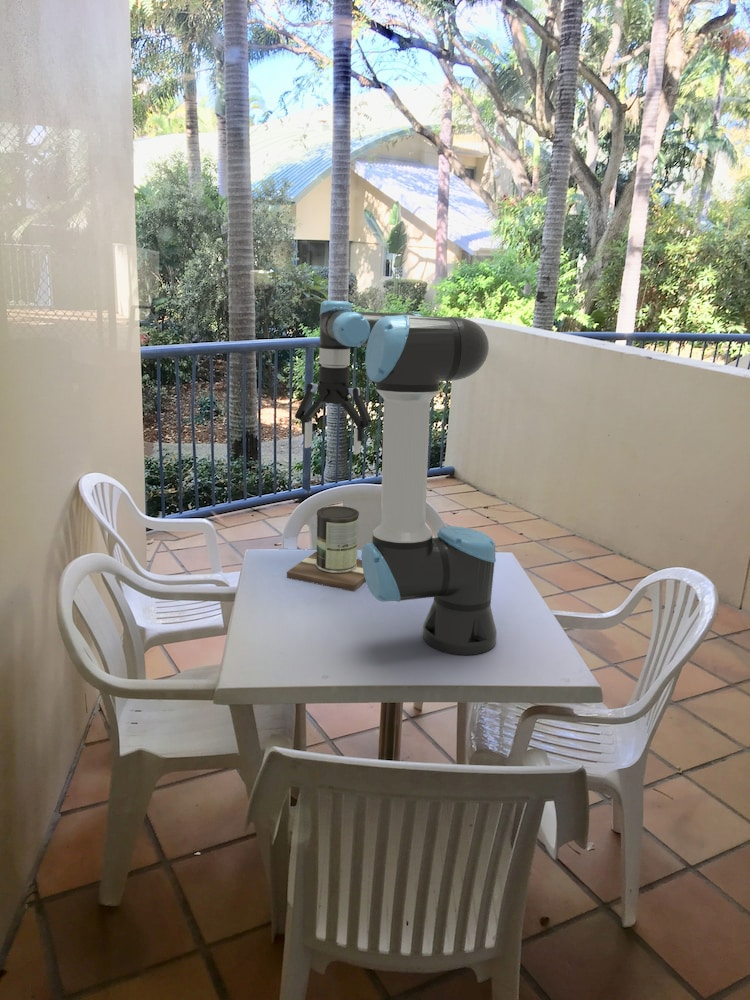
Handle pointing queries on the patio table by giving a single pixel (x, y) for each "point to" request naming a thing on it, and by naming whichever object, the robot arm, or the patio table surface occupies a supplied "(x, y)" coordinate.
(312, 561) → the strip
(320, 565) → the coffee can
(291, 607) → the patio table surface
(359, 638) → the patio table surface
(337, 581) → the board
